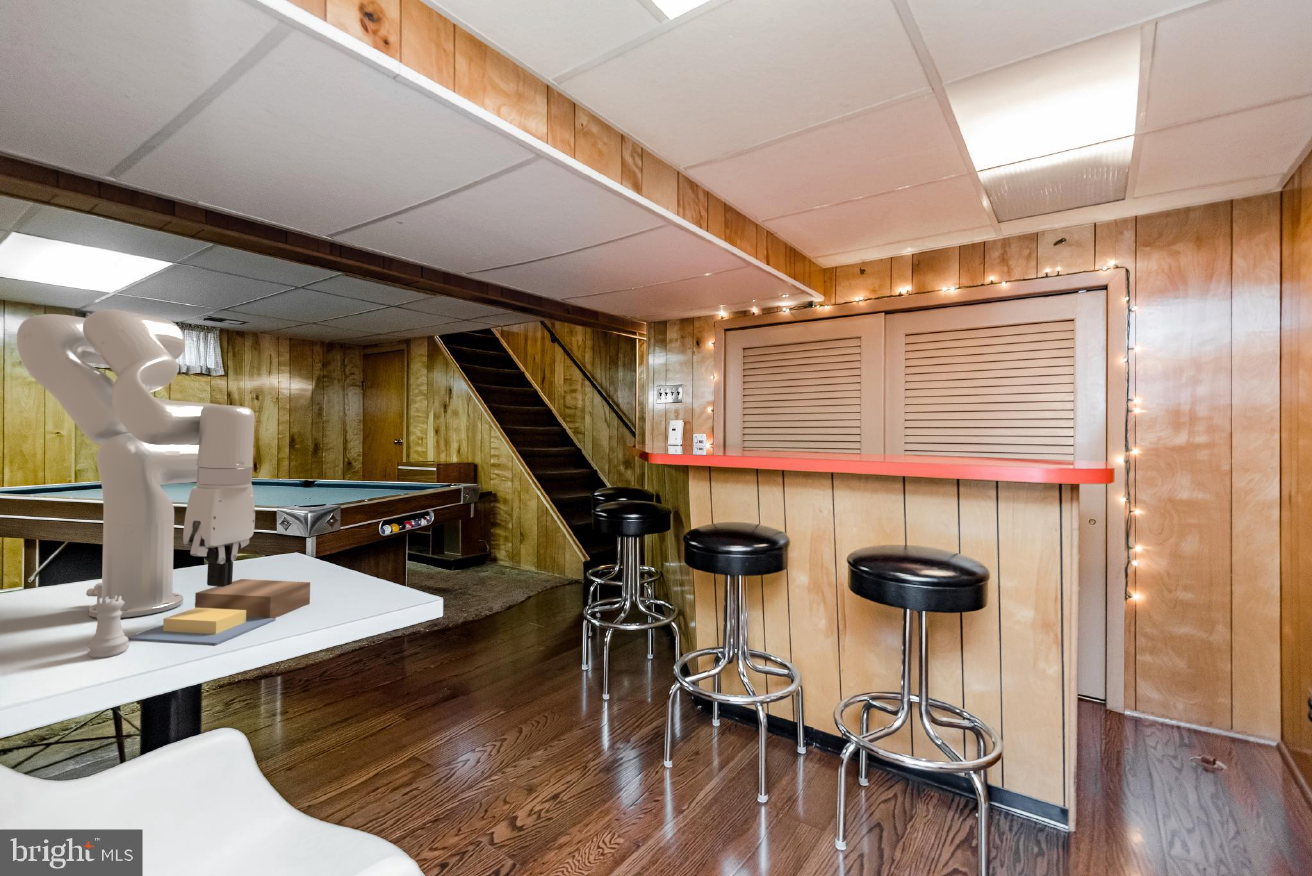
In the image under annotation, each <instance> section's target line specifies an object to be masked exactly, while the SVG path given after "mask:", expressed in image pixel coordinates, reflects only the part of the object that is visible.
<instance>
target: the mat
mask: <svg viewBox="0 0 1312 876" xmlns="http://www.w3.org/2000/svg"><path fill="white" fill-rule="evenodd" d="M276 618H277V617H276ZM276 618H259V617H246V622H245V623H242V624H240V625H237V626H235V627H232V628H230V629H227V630H225V631H222V632H220V633H217V634H207V633H189V632H171V631H163V624H162V625H161V624H160V625H159V626H156V627H153V628H151V629H146V630H144V631H142V632H139V633H138V632H137V633H136V634H133V635H130V636H127V637H128V640H129V641H130V640H131V641H146V642H161V643H175V644H176V643H178V644H193V645H197V644H198V645H210V646H211V645H213V646H218V645H221V644H222V643H224V642H228V641H229V640H233V639H234V638H237V637H239V636H242V635H243V634H245V633H249V632H250V631H253V630H256V629H257V628H261V627H263V626H265V625H267V624H270V623H272V622H274V621H275V622H276Z"/></svg>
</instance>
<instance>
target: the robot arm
mask: <svg viewBox="0 0 1312 876" xmlns="http://www.w3.org/2000/svg"><path fill="white" fill-rule="evenodd" d="M16 333H17V334H16V347H17V351H18V355H19V357H20V359H21V363H22V364H23V366H24V368H25V369H26V371H27V372H28V373H29V375H31V377H33V379H34V380H35V381H36V382H37V383H38V384H40V386H42V387H43V388H44V389H45V390H46V391H47V392H49V393H50V395H52V397H54V398H55V399H56V400H57V402H58V403H59V404H60V406H61V408H62V409H63V410H64V411H65V412H66V413H67V415H68V416H69V417H70V418H71V420H72V421H73V422H74V423H75V425H76V426H77V428H78V429H79V430H80V431H81V433H82V434H83V435H85V437H86V438H87V439H88V440H90V441H91V442H92V443H95V444H97V445H100V446H99V448H98V450H97V451H96V452H97V454H96V465H97V471H98V474H99V479H100V484H101V489H102V500H103V514H102V515H103V516H102V517H103V521H102V522H103V527H102V529H103V530H102V531H103V532H102V538H103V539H102V570H101V571H102V572H101V573H102V576H101V582H98V583H96V584H95V585H94V586H93V588H89V589H86V591H85V592H86V593H85V594H86V596H88V597H96V601H97V600H98V599H99V598H102V600H104V597H107V596H108V597H109V599H112V596H117V598H118V596H121V600H123V601H124V602H125V603H124V604H123V606H122V607H121V608H120V611H121V612H122V615H121V616H120V619H122V618H131V617H132V618H133V617H134V618H135V617H141V616H146V615H147V616H148V615H151V614H156V613H161V612H165V611H168V610H172V609H175V608H177V607H179V606H181V605H182V604H183V603H184V596H183V595H182V594H180V593H175V592H174V593H173V586H174V585H173V584H174V583H173V582H174V581H173V579H174V577H173V576H174V545H175V544H174V543H175V542H174V541H175V540H174V537H175V507H174V504H173V502H172V500H171V499H170V497H169V496H168V494H167V493H165V491H164V490H163V488H162V485H173V484H177V485H178V484H189V483H196V486H192V487H191V491H190V494H189V497H188V501H187V504H186V510H185V515H184V522H183V523H184V525H183V534H182V542H183V545H185V546H186V547H191V548H190V549H191V550H190V552H189V553H190V556H194V557H202V558H203V559H204V562H205V563H207V575H206V576H207V578H206V586H209V587H217V586H218V587H224V586H226V585H230V584H232V582H233V576H234V575H233V573H234V572H233V571H234V570H233V569H234V561H236V559H237V557H238V553H239V552H240V550H241V549H242V548H244V547H246V546H248V545H249V544H250V538H252V537H253V535H254V532H255V523H256V505H255V493H254V487H253V484H252V481H253V463H254V462H253V461H254V443H255V442H254V441H255V440H254V439H255V422H256V421H255V419H256V418H255V413H254V412H255V411H254V410H253V409H251V408H250V407H247V406H240V405H231V404H230V405H227V404H217V403H212V402H196V401H182V400H181V401H180V400H171V399H168V398H162V397H155V396H154V395H153V394H152V393H153V392H156V391H159V390H161V389H163V388H165V387H167V386H168V385H170V384H171V383H172V382H173V381H174V380H175V379H176V377H177V375H178V372H179V365H178V362H177V360H178V359H179V358H180V357H181V356H182V355H183V353H184V352H185V348H186V339H185V335H184V333H183V331H182V330H181V328H180V327H179V326H178V325H177V324H176V323H174V322H173V321H171V320H169V319H166V318H163V317H158V316H153V315H150V314H149V315H147V314H143V313H138V312H133V311H126V310H121V309H102V310H97V311H93V313H90V314H89V315H88V316H87V317H81V316H75V315H68V314H59V313H47V314H46V313H45V314H44V313H43V314H38V315H34V316H30V317H28V318H26V319H25V320H24V321H22V322H21V324H19V327H18V329H17V332H16ZM90 364H94V365H95V364H96V365H106V366H108V367H109V369H111V371H112V372H113V373H114V374H115V375H116V377H117V378H116V379H115V381H114V380H113V378H111V377H110V376H109V375H108V374H106V373H105V372H104V371H102V370H100V369H99V368H97V367H95V366H93V365H90ZM96 604H97V603H95V604H93V605H91V606H89V608H88V614H89V616H90V617H91V618H92V617H93V618H96V616H97V615H98V611H97V610H96V609H95V608H94V606H95V605H96Z"/></svg>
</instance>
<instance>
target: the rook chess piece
mask: <svg viewBox="0 0 1312 876" xmlns="http://www.w3.org/2000/svg"><path fill="white" fill-rule="evenodd" d="M124 603H125V602H124V601H123V600H121V596H118V598H117V596H112V599H109V597H108V596H107V597H104V600H102V598H99V599H98V600H97V599H96V603H95V604H96V605H95V604H94V605H95V606H94V608H95V609H96V610H97V611H98V615H97V616H96V617H95V619H97V625H96V628H95V629H96V630H95V634H94V636H93V637H92V640H91V641H90V642H88V643H89V644H88V646H87V649H88V650H89V651H88V652H87V653H86V655H87V656H88V657H89V658H91V659H105V658H111V657H117V656H119V655H121V654H124V653H125V652H126V651H128V649H129V648H130V645H128V643H129V641H130V640H128V637H129V636H126V633H125V632H124V631H123V628H122V621H121V618H120V616H121V615H122V612H121V611H120V608H121V607H122V606H123V604H124Z"/></svg>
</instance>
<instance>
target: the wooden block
mask: <svg viewBox="0 0 1312 876" xmlns="http://www.w3.org/2000/svg"><path fill="white" fill-rule="evenodd" d="M194 594H195V596H194V597H195V599H194V603H195V604H194V608H214V609H233V610H246V617H259V618H278V617H281V616H283V615H285V614H288V613H290V612H292V611H295V610H297V609H299V608H302V607H305V606H307V605H309V604H310V603H311V582H308V581H289V580H288V581H287V580H269V579H268V580H267V579H248V578H247V579H246V578H243V579H242V578H241V579H237V580H234V581H233V580H232V584H230V585H226V586H224V587H218V586H212V587H211V588H207V589H204V590H200V591H197V592H195V593H194Z"/></svg>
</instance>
